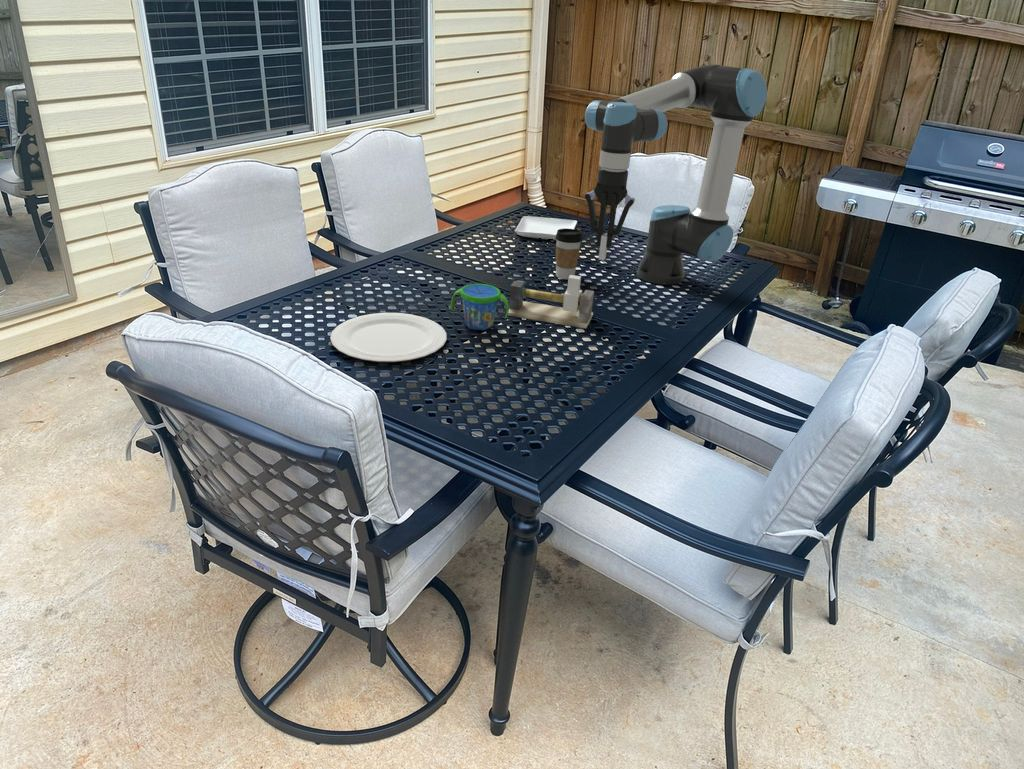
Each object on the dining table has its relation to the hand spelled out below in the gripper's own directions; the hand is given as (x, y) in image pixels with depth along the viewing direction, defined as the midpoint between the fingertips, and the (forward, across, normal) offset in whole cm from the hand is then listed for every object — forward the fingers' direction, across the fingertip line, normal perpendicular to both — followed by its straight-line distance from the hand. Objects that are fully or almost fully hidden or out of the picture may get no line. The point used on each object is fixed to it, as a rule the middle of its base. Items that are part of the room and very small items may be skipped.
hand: (602, 258), depth 196 cm
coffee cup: (+19, +16, -33) cm, 41 cm away
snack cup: (+19, +29, +15) cm, 38 cm away
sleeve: (+16, +7, 0) cm, 17 cm away
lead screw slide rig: (+19, +13, 0) cm, 23 cm away
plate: (+20, +47, +33) cm, 60 cm away
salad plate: (+19, +33, -76) cm, 85 cm away
